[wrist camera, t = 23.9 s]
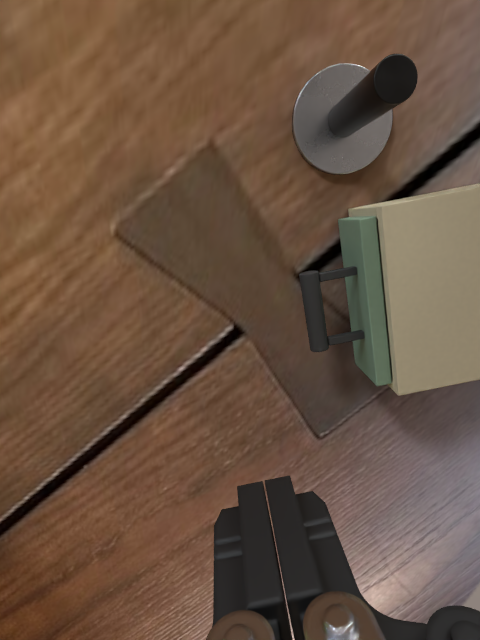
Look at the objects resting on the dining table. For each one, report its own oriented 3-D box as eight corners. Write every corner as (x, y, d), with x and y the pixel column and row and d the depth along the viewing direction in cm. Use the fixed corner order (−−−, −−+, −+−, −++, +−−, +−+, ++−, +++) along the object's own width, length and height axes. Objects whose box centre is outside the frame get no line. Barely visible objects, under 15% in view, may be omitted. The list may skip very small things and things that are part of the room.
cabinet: (365, 364, 35) (398, 396, 29) (347, 209, 32) (381, 206, 25) (534, 330, 35) (605, 354, 29) (535, 172, 32) (616, 160, 25)
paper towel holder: (299, 183, 31) (335, 167, 22) (284, 76, 29) (315, 10, 20) (393, 164, 31) (468, 141, 22) (384, 57, 29) (462, -19, 20)
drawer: (307, 373, 34) (322, 397, 29) (285, 229, 31) (297, 231, 26) (517, 331, 34) (565, 349, 29) (516, 184, 31) (569, 178, 26)
